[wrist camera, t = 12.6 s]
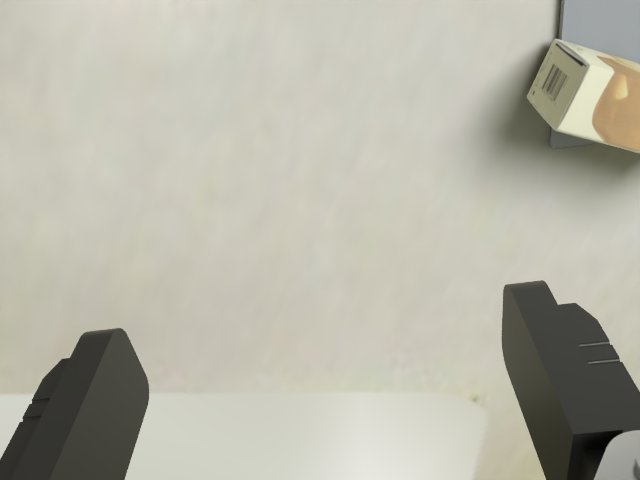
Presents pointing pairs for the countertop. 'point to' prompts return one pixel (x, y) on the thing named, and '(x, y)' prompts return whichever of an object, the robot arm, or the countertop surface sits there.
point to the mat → (599, 38)
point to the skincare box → (589, 95)
